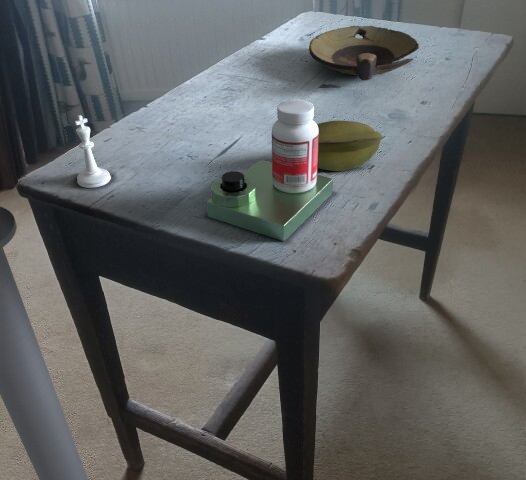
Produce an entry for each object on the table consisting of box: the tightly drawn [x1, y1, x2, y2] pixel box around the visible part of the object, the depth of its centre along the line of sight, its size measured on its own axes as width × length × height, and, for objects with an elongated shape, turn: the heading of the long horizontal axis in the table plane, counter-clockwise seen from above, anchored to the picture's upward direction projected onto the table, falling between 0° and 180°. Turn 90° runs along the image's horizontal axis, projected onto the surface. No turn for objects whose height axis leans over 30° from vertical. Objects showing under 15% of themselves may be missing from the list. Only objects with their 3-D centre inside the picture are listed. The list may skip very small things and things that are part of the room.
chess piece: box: [74, 114, 112, 189], centre depth 85 cm, size 5×5×10 cm
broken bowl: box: [308, 25, 420, 82], centre depth 120 cm, size 22×30×8 cm
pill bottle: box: [271, 98, 318, 193], centre depth 78 cm, size 6×6×11 cm
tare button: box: [221, 170, 245, 192], centre depth 78 cm, size 3×3×2 cm
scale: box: [206, 159, 334, 242], centre depth 81 cm, size 14×12×4 cm
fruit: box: [316, 120, 384, 172], centre depth 89 cm, size 11×12×7 cm
